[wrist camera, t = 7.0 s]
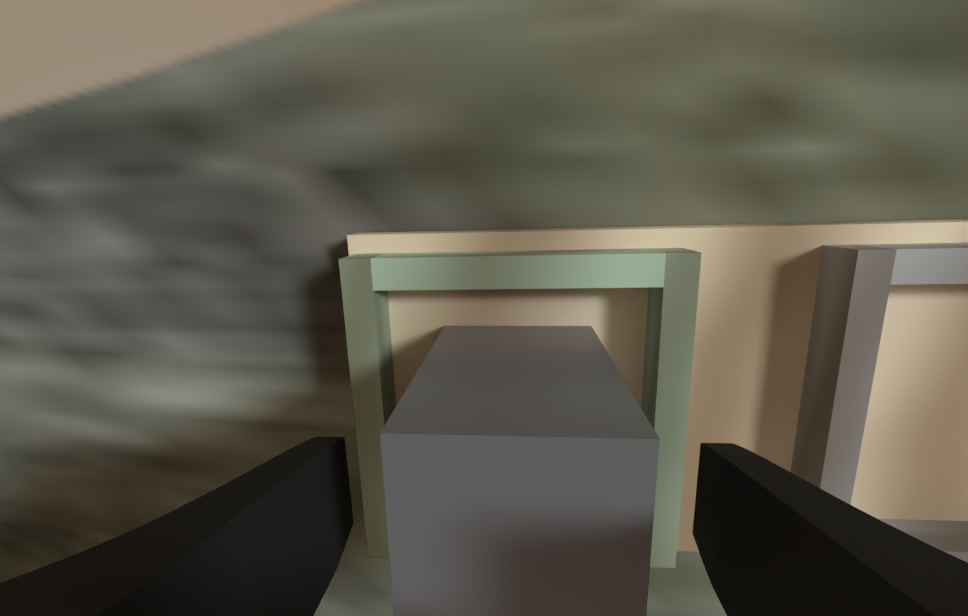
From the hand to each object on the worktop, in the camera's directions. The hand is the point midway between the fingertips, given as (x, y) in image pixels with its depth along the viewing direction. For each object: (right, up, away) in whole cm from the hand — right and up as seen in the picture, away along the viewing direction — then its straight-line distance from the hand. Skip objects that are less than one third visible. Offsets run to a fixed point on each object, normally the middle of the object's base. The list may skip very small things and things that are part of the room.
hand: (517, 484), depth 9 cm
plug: (0, +1, +4) cm, 4 cm away
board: (+6, +1, +4) cm, 8 cm away
